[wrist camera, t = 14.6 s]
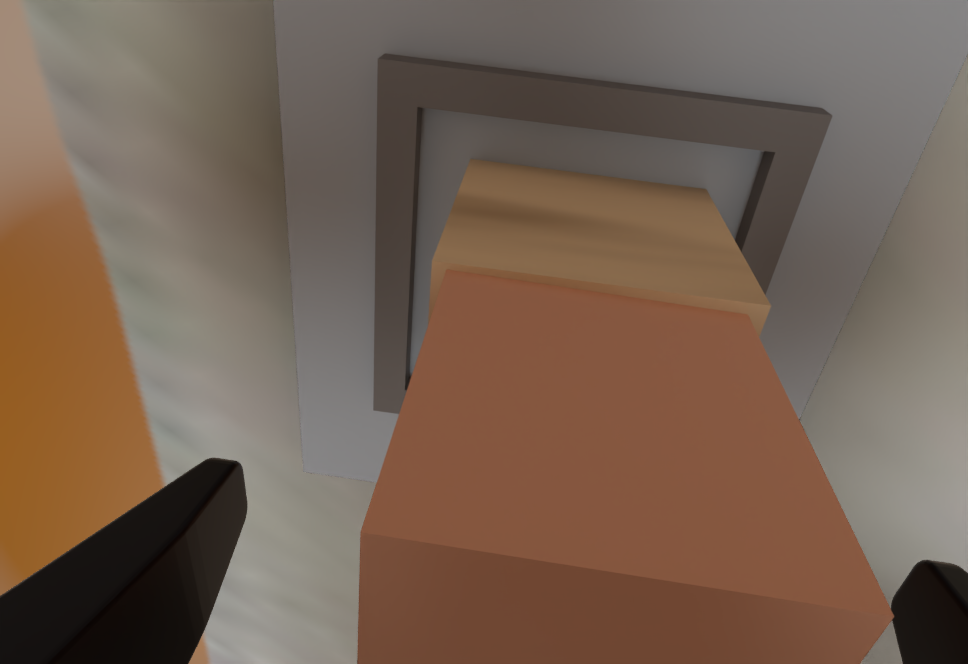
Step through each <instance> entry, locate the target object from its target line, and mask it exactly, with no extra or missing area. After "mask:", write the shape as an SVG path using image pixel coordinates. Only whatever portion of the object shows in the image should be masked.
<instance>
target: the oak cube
mask: <svg viewBox="0 0 968 664" xmlns="http://www.w3.org/2000/svg"><path fill="white" fill-rule="evenodd" d="M446 269H447V270H454V271H461V272H467V273H474V274H481V275H487V276H494V277H501V278H507V279H514V280H521V281H527V282H534V283H541V284H547V285H554V286H561V287H567V288H574V289H581V290H587V291H594V292H601V293H607V294H614V295H621V296H627V297H634V298H641V299H647V300H654V301H661V302H667V303H674V304H681V305H687V306H694V307H701V308H707V309H714V310H721V311H727V312H734V313H741V314H747V315H748V316H749V318H750V320H751V322H752V324H753V326H754V328H755V330H756V332H757V334H758V336H760V334H761V331H762V329H763V326H764V323H765V321H766V318H767V316H768V313H769V310H770V308H771V305H770V303H769V301H768V299H767V297H766V296H765V294H764V292H763V290H762V289H761V287H760V285H759V283H758V281H757V280H756V278H755V276H754V274H753V272H752V271H751V269H750V267H749V265H748V263H747V262H746V260H745V258H744V256H743V254H742V253H741V251H740V249H739V247H738V245H737V244H736V242H735V240H734V238H733V236H732V235H731V233H730V231H729V229H728V227H727V226H726V224H725V222H724V220H723V218H722V217H721V215H720V213H719V211H718V209H717V208H716V206H715V204H714V202H713V200H712V199H711V197H710V195H709V193H708V191H707V190H706V189H702V188H694V187H686V186H678V185H671V184H663V183H655V182H647V181H639V180H632V179H624V178H616V177H608V176H600V175H593V174H585V173H577V172H569V171H561V170H554V169H546V168H538V167H530V166H523V165H515V164H507V163H499V162H491V161H484V160H476V159H470V161H469V164H468V167H467V169H466V172H465V175H464V177H463V180H462V183H461V185H460V188H459V190H458V193H457V196H456V198H455V201H454V204H453V206H452V209H451V212H450V214H449V217H448V220H447V222H446V225H445V228H444V230H443V233H442V235H441V238H440V241H439V243H438V246H437V249H436V251H435V254H434V257H433V259H432V268H431V284H430V300H429V316H428V324H429V321H430V318H431V315H432V312H433V309H434V306H435V303H436V300H437V297H438V294H439V291H440V288H441V284H442V281H443V278H444V275H445V272H446Z"/></svg>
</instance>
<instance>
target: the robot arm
mask: <svg viewBox="0 0 968 664" xmlns="http://www.w3.org/2000/svg"><path fill="white" fill-rule="evenodd" d="M246 514H247V497H246V489H245V482H244V474H243V469H242V466H241V464H240V463H239V462H237V461H234V460H227V459H220V458H209V459H207V460H205V461H203V462H201V463H200V464H198V465H197V466H195V467H194V468H192V469H191V470H189V471H188V472H186V473H185V474H183V475H182V476H180V477H179V478H177V479H176V480H174V481H173V482H171V483H170V484H168V485H167V486H165V487H164V488H162V489H161V490H159V491H158V492H156V493H155V494H153V495H152V496H150V497H149V498H147V499H146V500H144V501H143V502H141V503H140V504H138V505H137V506H135V507H134V508H132V509H131V510H129V511H128V512H126V513H125V514H123V515H122V516H120V517H118V518H117V519H115V520H114V521H112V522H111V523H110V524H108V525H106V526H105V527H103V528H102V529H101V530H99V531H97V532H96V533H95V534H93V535H92V536H90V537H88V538H87V539H86V540H84V541H82V542H81V543H79V544H78V545H76V546H75V547H73V548H72V549H70V550H69V551H67V552H66V553H64V554H63V555H61V556H60V557H58V558H57V559H55V560H54V561H52V562H51V563H49V564H48V565H46V566H45V567H43V568H42V569H40V570H39V571H37V572H36V573H34V574H33V575H31V576H30V577H28V578H27V579H25V580H24V581H22V582H21V583H19V584H18V585H16V586H14V587H13V588H11V589H10V590H8V591H7V592H6V593H4V594H2V595H1V596H0V664H188V663H189V661H190V659H191V657H192V655H193V653H194V651H195V649H196V647H197V645H198V643H199V641H200V639H201V636H202V634H203V632H204V630H205V628H206V625H207V623H208V620H209V617H210V615H211V612H212V610H213V607H214V604H215V602H216V599H217V596H218V593H219V591H220V588H221V585H222V582H223V580H224V577H225V574H226V571H227V569H228V566H229V563H230V560H231V558H232V555H233V552H234V549H235V547H236V544H237V541H238V538H239V536H240V533H241V530H242V528H243V525H244V522H245V518H246ZM891 611H892V613H893V615H894V618H893V619H892V621H893V625H894V629H895V633H896V637H897V641H898V645H899V649H900V653H901V657H902V662H903V664H968V573H967V572H966V571H964V570H963V569H962V568H960V567H959V566H957V565H954V564H951V563H945V562H938V561H931V560H922V561H920V562H918V563H917V564H916V565H915V566H914V567H913V569H912V570H911V572H910V573H909V575H908V576H907V578H906V579H905V581H904V582H903V584H902V585H901V586H900V588H899V589H898V591H897V592H896V594H895V595H894V597H893V600H892V604H891Z"/></svg>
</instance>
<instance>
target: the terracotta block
mask: <svg viewBox="0 0 968 664" xmlns="http://www.w3.org/2000/svg"><path fill="white" fill-rule="evenodd" d="M893 618H894V615H893V613H892V611H891V609H890V607H889V605H888V603H887V601H886V598H885V596H884V594H883V592H882V590H881V588H880V586H879V584H878V582H877V580H876V578H875V576H874V574H873V572H872V570H871V567H870V565H869V563H868V561H867V559H866V557H865V555H864V553H863V551H862V549H861V547H860V545H859V543H858V541H857V539H856V537H855V534H854V532H853V530H852V528H851V526H850V524H849V522H848V520H847V518H846V516H845V514H844V512H843V510H842V508H841V506H840V503H839V501H838V499H837V497H836V495H835V493H834V491H833V489H832V487H831V485H830V483H829V481H828V479H827V477H826V475H825V472H824V470H823V468H822V466H821V464H820V462H819V460H818V458H817V456H816V454H815V452H814V450H813V448H812V446H811V444H810V442H809V439H808V437H807V435H806V433H805V431H804V429H803V427H802V425H801V423H800V421H799V419H798V417H797V415H796V413H795V411H794V408H793V406H792V404H791V402H790V400H789V398H788V396H787V394H786V392H785V390H784V388H783V386H782V384H781V382H780V380H779V377H778V375H777V373H776V371H775V369H774V367H773V365H772V363H771V361H770V359H769V357H768V355H767V353H766V351H765V349H764V347H763V344H762V342H761V340H760V338H759V336H758V334H757V332H756V330H755V328H754V326H753V324H752V322H751V320H750V318H749V316H748V315H747V314H741V313H734V312H727V311H721V310H714V309H707V308H701V307H694V306H687V305H681V304H674V303H667V302H661V301H654V300H647V299H641V298H634V297H627V296H621V295H614V294H607V293H601V292H594V291H587V290H581V289H574V288H567V287H561V286H554V285H547V284H541V283H534V282H527V281H521V280H514V279H507V278H501V277H494V276H487V275H481V274H474V273H467V272H461V271H454V270H447V269H446V272H445V275H444V278H443V281H442V284H441V288H440V291H439V294H438V297H437V300H436V303H435V306H434V309H433V312H432V315H431V318H430V321H429V324H428V327H427V330H426V333H425V337H424V340H423V343H422V346H421V349H420V352H419V355H418V358H417V361H416V364H415V367H414V370H413V373H412V376H411V379H410V383H409V386H408V389H407V392H406V395H405V398H404V401H403V404H402V407H401V410H400V413H399V416H398V419H397V422H396V425H395V428H394V432H393V435H392V438H391V441H390V444H389V447H388V450H387V453H386V456H385V459H384V462H383V465H382V468H381V471H380V474H379V478H378V481H377V484H376V487H375V490H374V493H373V496H372V499H371V502H370V505H369V508H368V511H367V514H366V517H365V520H364V523H363V527H362V530H361V538H360V579H359V619H358V660H357V664H860V663H861V661H862V660H863V659H864V657H865V656H866V654H867V653H868V652H869V650H870V649H871V648H872V646H873V645H874V644H875V642H876V641H877V640H878V638H879V637H880V636H881V634H882V633H883V631H884V630H885V629H886V627H887V626H888V625H889V623H890V622H891V621H892V619H893Z"/></svg>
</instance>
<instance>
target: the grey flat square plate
mask: <svg viewBox="0 0 968 664" xmlns="http://www.w3.org/2000/svg"><path fill="white" fill-rule="evenodd" d="M273 8H274V24H275V39H276V55H277V70H278V86H279V101H280V117H281V132H282V148H283V163H284V179H285V194H286V210H287V225H288V241H289V256H290V272H291V287H292V303H293V318H294V334H295V349H296V365H297V380H298V396H299V411H300V427H301V443H302V458H303V472H307V473H314V474H321V475H328V476H335V477H342V478H349V479H356V480H363V481H370V482H377V481H378V478H379V474H380V471H381V468H382V465H383V462H384V459H385V456H386V453H387V450H388V447H389V444H390V441H391V438H392V435H393V432H394V428H395V425H396V422H397V419H398V416H399V413H400V410H401V407H402V404H403V401H404V398H405V395H406V392H407V389H408V386H409V383H410V379H411V376H412V373H413V370H414V367H415V364H416V361H417V358H418V355H419V352H420V349H421V346H422V343H423V340H424V337H425V333H426V330H427V327H428V316H429V300H430V284H431V268H432V259H433V257H434V254H435V251H436V249H437V246H438V243H439V241H440V238H441V235H442V233H443V230H444V228H445V225H446V222H447V220H448V217H449V214H450V212H451V209H452V206H453V204H454V201H455V198H456V196H457V193H458V190H459V188H460V185H461V183H462V180H463V177H464V175H465V172H466V169H467V167H468V164H469V161H470V159H476V160H484V161H491V162H499V163H507V164H515V165H523V166H530V167H538V168H546V169H554V170H561V171H569V172H577V173H585V174H593V175H600V176H608V177H616V178H624V179H632V180H639V181H647V182H655V183H663V184H671V185H678V186H686V187H694V188H702V189H706V190H707V191H708V193H709V195H710V197H711V199H712V200H713V202H714V204H715V206H716V208H717V209H718V211H719V213H720V215H721V217H722V218H723V220H724V222H725V224H726V226H727V227H728V229H729V231H730V233H731V235H732V236H733V238H734V240H735V242H736V244H737V245H738V247H739V249H740V251H741V253H742V254H743V256H744V258H745V260H746V262H747V263H748V265H749V267H750V269H751V271H752V272H753V274H754V276H755V278H756V280H757V281H758V283H759V285H760V287H761V289H762V290H763V292H764V294H765V296H766V297H767V299H768V301H769V303H770V305H771V308H770V310H769V313H768V316H767V318H766V321H765V323H764V326H763V329H762V331H761V334H760V336H759V338H760V340H761V342H762V344H763V347H764V349H765V351H766V353H767V355H768V357H769V359H770V361H771V363H772V365H773V367H774V369H775V371H776V373H777V375H778V377H779V380H780V382H781V384H782V386H783V388H784V390H785V392H786V394H787V396H788V398H789V400H790V402H791V404H792V406H793V408H794V411H795V413H796V415H797V417H798V419H799V420H800V418H801V416H802V413H803V411H804V409H805V407H806V405H807V403H808V400H809V398H810V396H811V394H812V392H813V390H814V387H815V385H816V383H817V381H818V379H819V376H820V374H821V372H822V370H823V368H824V366H825V363H826V361H827V359H828V357H829V355H830V353H831V350H832V348H833V346H834V344H835V342H836V340H837V337H838V335H839V333H840V331H841V329H842V326H843V324H844V322H845V320H846V318H847V316H848V313H849V311H850V309H851V307H852V305H853V303H854V300H855V298H856V296H857V294H858V292H859V290H860V287H861V285H862V283H863V281H864V279H865V277H866V274H867V272H868V270H869V268H870V266H871V263H872V261H873V259H874V257H875V255H876V253H877V250H878V248H879V246H880V244H881V242H882V240H883V237H884V235H885V233H886V231H887V229H888V227H889V224H890V222H891V220H892V218H893V216H894V213H895V211H896V209H897V207H898V205H899V203H900V200H901V198H902V196H903V194H904V192H905V190H906V187H907V185H908V183H909V181H910V179H911V177H912V174H913V172H914V170H915V168H916V166H917V163H918V161H919V159H920V157H921V155H922V153H923V150H924V148H925V146H926V144H927V142H928V140H929V137H930V135H931V133H932V131H933V129H934V127H935V124H936V122H937V120H938V118H939V116H940V113H941V111H942V109H943V107H944V105H945V103H946V100H947V98H948V96H949V94H950V92H951V90H952V87H953V85H954V83H955V81H956V79H957V77H958V74H959V72H960V70H961V68H962V66H963V64H964V61H965V59H966V57H967V55H968V0H273Z"/></svg>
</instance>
